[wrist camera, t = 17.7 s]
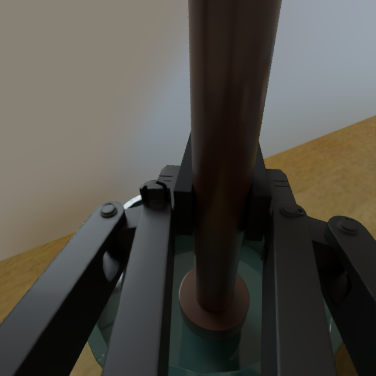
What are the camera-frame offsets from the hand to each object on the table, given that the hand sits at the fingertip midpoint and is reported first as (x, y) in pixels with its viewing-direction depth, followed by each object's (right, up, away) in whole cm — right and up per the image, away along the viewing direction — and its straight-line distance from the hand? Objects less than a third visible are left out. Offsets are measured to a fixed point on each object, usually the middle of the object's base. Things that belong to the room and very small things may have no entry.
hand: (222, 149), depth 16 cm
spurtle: (0, -11, +1) cm, 11 cm away
